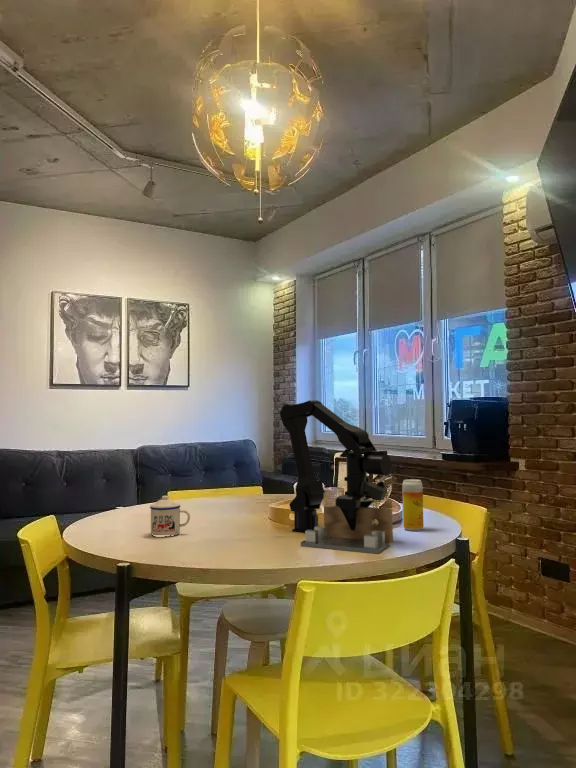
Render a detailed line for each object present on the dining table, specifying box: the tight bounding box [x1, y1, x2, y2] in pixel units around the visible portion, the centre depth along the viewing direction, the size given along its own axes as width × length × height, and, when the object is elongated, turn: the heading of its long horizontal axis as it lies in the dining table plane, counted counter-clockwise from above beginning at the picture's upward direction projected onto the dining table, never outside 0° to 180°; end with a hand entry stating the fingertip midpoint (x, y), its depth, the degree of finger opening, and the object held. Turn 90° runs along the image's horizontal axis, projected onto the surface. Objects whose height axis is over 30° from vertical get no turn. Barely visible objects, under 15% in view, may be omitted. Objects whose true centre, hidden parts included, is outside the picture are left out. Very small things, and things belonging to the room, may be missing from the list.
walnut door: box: [323, 504, 394, 543], centre depth 169 cm, size 20×3×9 cm, turn 62°
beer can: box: [401, 478, 424, 532], centre depth 182 cm, size 6×6×15 cm
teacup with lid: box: [149, 495, 191, 536], centre depth 179 cm, size 12×9×12 cm
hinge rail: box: [300, 525, 390, 554], centre depth 161 cm, size 22×10×4 cm, turn 63°
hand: (357, 527), depth 170 cm, fingers open, 7 cm apart
